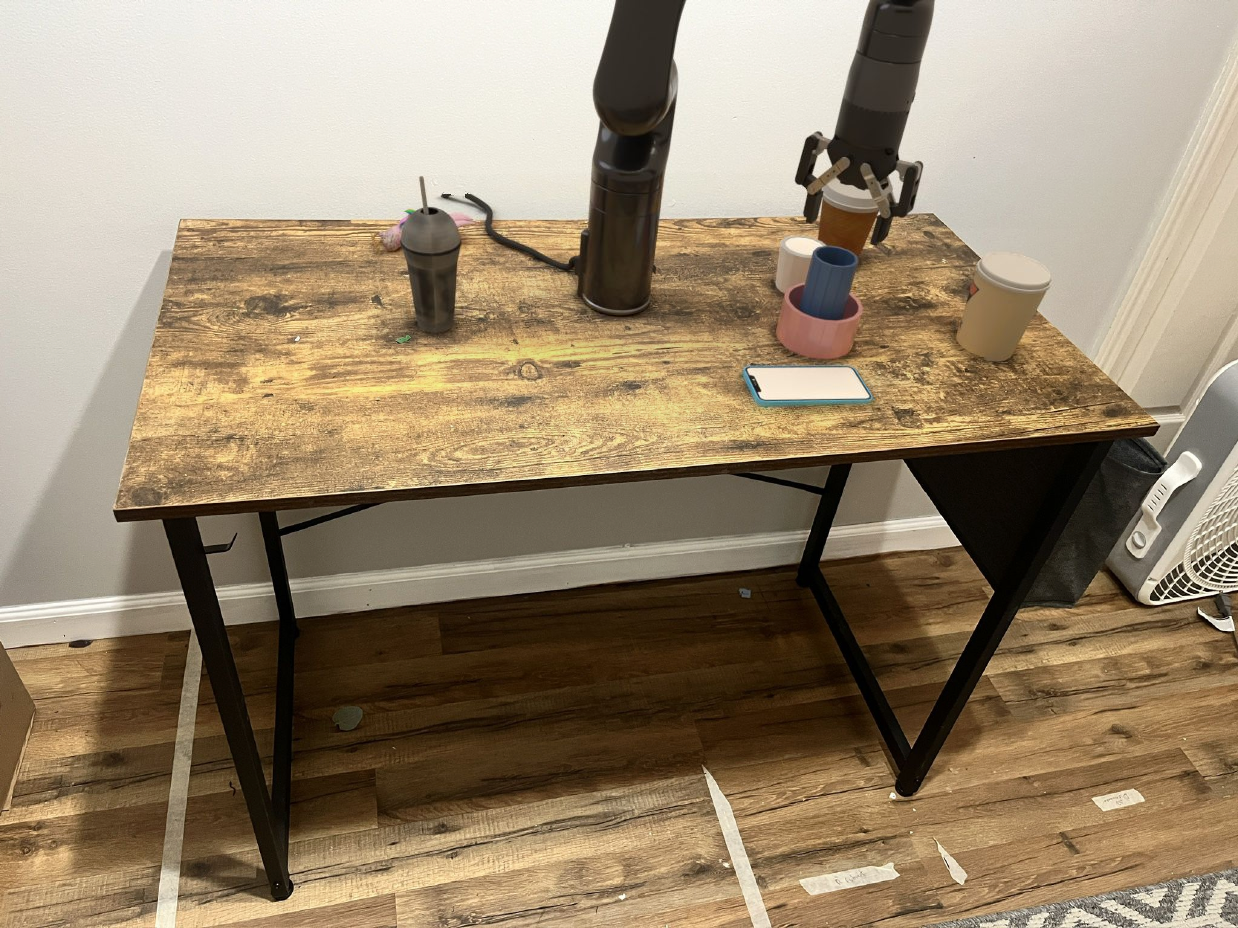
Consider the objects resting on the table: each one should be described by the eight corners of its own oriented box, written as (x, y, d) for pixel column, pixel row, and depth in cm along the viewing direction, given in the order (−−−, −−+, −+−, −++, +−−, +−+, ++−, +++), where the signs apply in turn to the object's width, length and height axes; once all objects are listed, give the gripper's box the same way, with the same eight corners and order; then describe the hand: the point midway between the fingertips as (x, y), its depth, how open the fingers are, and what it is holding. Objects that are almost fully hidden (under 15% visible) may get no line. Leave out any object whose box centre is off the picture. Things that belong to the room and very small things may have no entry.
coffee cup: (969, 320, 127) (1000, 243, 119) (1030, 349, 122) (1066, 271, 115) (936, 342, 122) (966, 263, 114) (998, 373, 117) (1034, 293, 109)
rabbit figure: (381, 267, 127) (481, 241, 130) (370, 229, 123) (474, 203, 126) (373, 247, 131) (470, 222, 134) (362, 210, 127) (463, 185, 130)
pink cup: (762, 342, 118) (771, 303, 114) (795, 312, 125) (804, 274, 121) (832, 371, 114) (844, 331, 110) (862, 338, 121) (874, 300, 117)
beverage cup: (475, 319, 116) (471, 171, 103) (443, 345, 111) (436, 192, 98) (428, 303, 118) (419, 155, 105) (395, 328, 113) (381, 176, 100)
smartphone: (875, 400, 108) (759, 402, 105) (872, 408, 109) (756, 409, 106) (853, 365, 114) (741, 365, 111) (850, 372, 115) (740, 373, 112)
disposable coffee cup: (875, 259, 139) (897, 185, 131) (853, 282, 133) (875, 206, 125) (819, 240, 143) (837, 167, 135) (795, 261, 136) (813, 186, 129)
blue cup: (786, 338, 118) (806, 256, 110) (803, 321, 122) (824, 241, 114) (824, 354, 116) (847, 271, 108) (841, 336, 120) (864, 255, 112)
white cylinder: (816, 305, 127) (828, 260, 122) (769, 296, 127) (779, 252, 123) (818, 282, 132) (829, 239, 127) (772, 274, 133) (782, 231, 128)
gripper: (805, 89, 99) (777, 224, 109) (928, 122, 93) (886, 262, 104) (832, 74, 104) (803, 205, 114) (950, 105, 98) (908, 240, 109)
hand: (842, 232), depth 109 cm, fingers open, 8 cm apart
